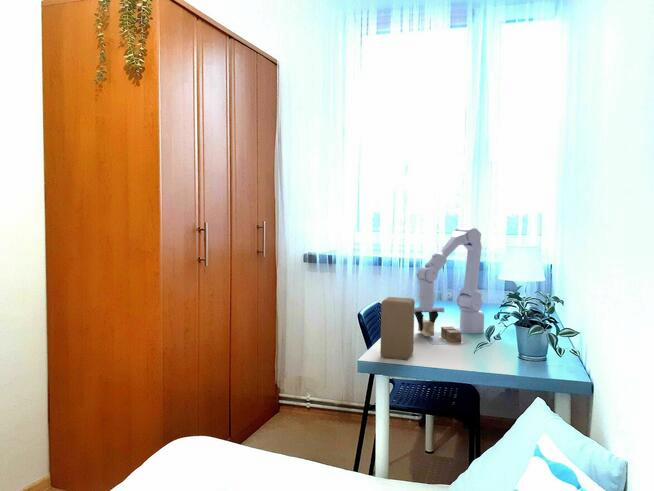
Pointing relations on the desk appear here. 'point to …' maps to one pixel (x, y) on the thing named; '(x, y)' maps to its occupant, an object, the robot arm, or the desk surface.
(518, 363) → the desk surface
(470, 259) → the robot arm
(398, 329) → the wooden block
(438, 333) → the board
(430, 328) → the tan rectangular block
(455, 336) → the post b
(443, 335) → the brown wooden cube
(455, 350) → the desk surface
